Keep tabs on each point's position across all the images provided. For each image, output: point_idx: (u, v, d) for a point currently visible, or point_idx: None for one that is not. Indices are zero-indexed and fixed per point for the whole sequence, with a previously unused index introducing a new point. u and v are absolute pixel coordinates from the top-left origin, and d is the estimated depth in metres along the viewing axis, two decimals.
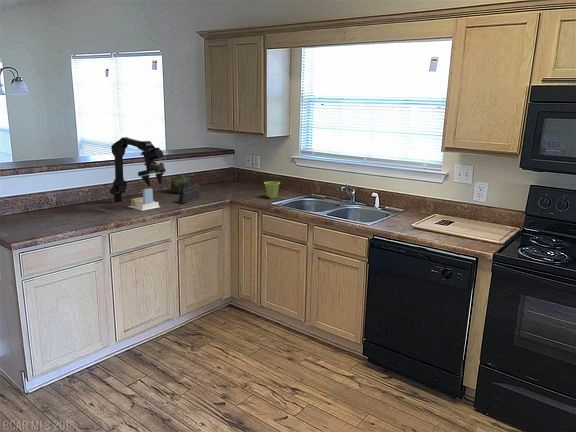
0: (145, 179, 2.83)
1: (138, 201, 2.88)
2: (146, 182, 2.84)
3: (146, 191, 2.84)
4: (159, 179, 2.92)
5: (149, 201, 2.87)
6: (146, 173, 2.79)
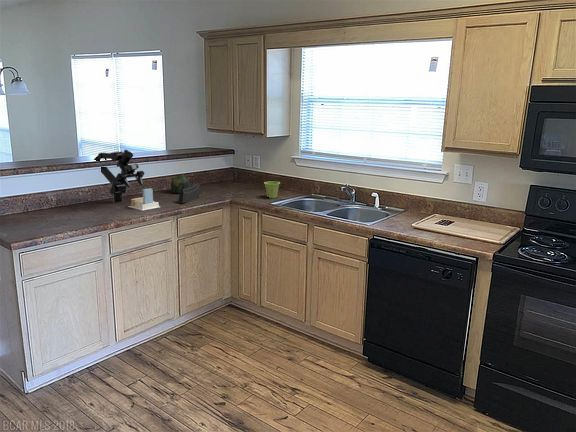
0: (124, 182, 2.89)
1: (138, 201, 2.88)
2: (126, 184, 2.89)
3: (146, 191, 2.84)
4: (140, 181, 2.97)
5: (149, 201, 2.87)
6: (121, 174, 2.87)
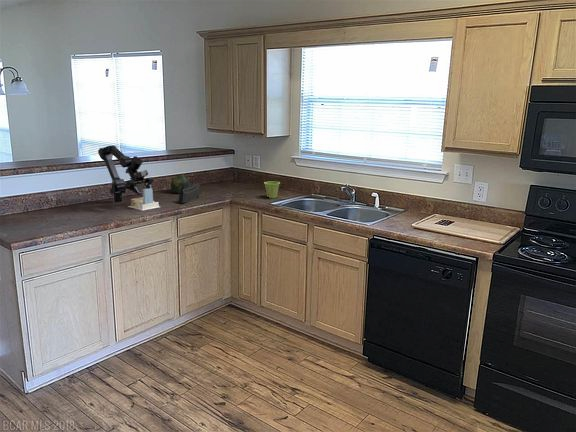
0: (133, 189, 2.85)
1: (138, 201, 2.88)
2: (135, 192, 2.84)
3: (146, 191, 2.84)
4: None
5: (149, 201, 2.87)
6: (131, 181, 2.82)
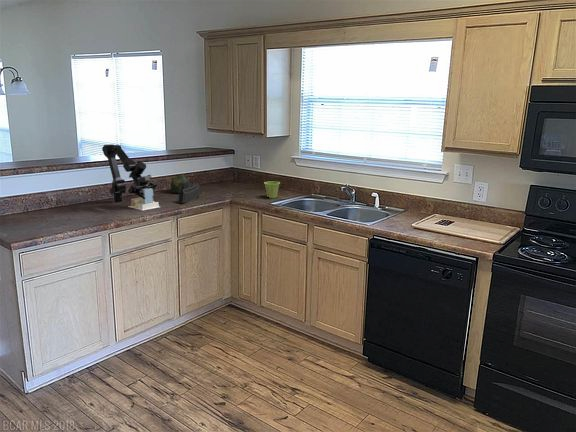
0: (139, 194, 2.84)
1: (138, 201, 2.88)
2: (141, 196, 2.84)
3: (146, 191, 2.84)
4: None
5: (149, 201, 2.87)
6: (134, 186, 2.80)
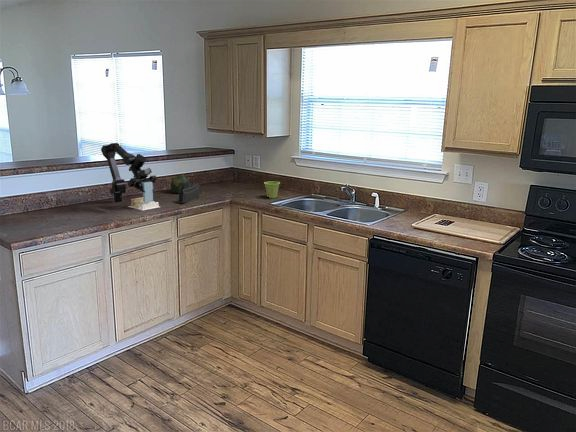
0: (138, 187, 2.83)
1: (138, 201, 2.88)
2: (140, 189, 2.83)
3: (146, 184, 2.83)
4: None
5: (149, 194, 2.86)
6: (134, 179, 2.79)
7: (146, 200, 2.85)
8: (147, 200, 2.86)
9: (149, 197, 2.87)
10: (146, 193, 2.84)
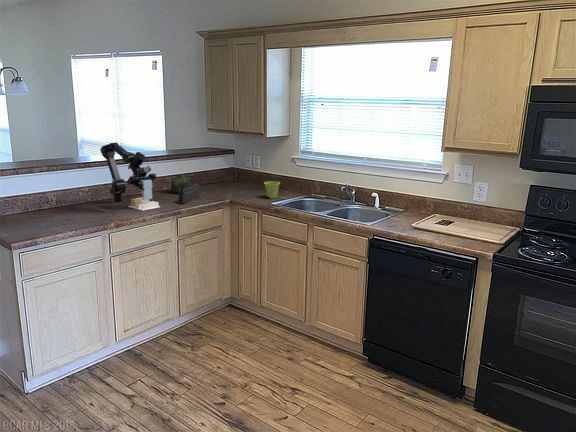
0: (138, 185, 2.83)
1: (138, 201, 2.88)
2: (140, 187, 2.83)
3: (145, 182, 2.83)
4: None
5: (148, 192, 2.86)
6: (133, 177, 2.79)
7: (145, 198, 2.85)
8: (146, 198, 2.86)
9: (148, 195, 2.87)
10: (145, 191, 2.84)
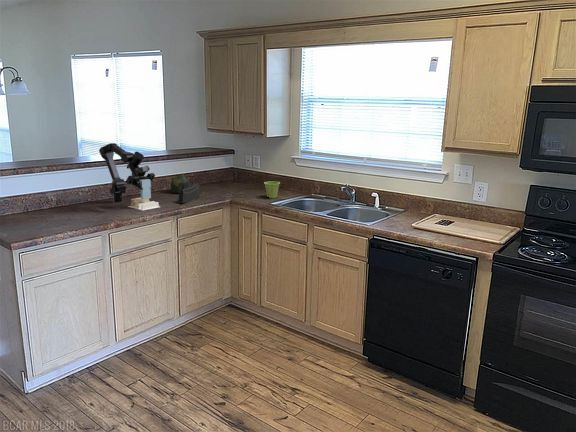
0: (136, 184, 2.84)
1: (138, 201, 2.88)
2: (138, 187, 2.84)
3: (144, 182, 2.84)
4: None
5: (147, 192, 2.87)
6: (132, 177, 2.80)
7: (144, 197, 2.86)
8: (145, 197, 2.87)
9: (147, 194, 2.87)
10: (144, 190, 2.85)
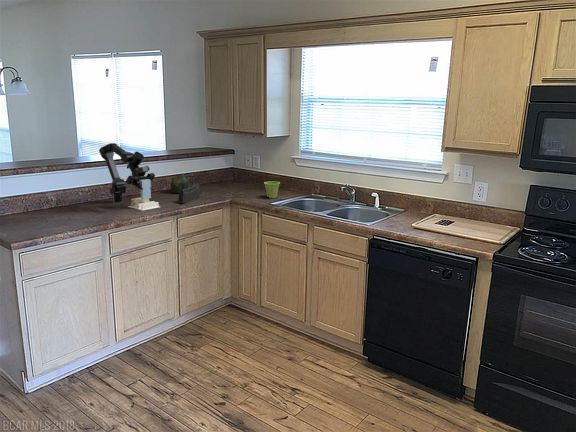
0: (136, 184, 2.84)
1: (138, 201, 2.88)
2: (138, 187, 2.84)
3: (144, 182, 2.84)
4: None
5: (147, 192, 2.87)
6: (132, 177, 2.80)
7: (144, 197, 2.86)
8: (145, 197, 2.87)
9: (147, 194, 2.87)
10: (144, 190, 2.85)
